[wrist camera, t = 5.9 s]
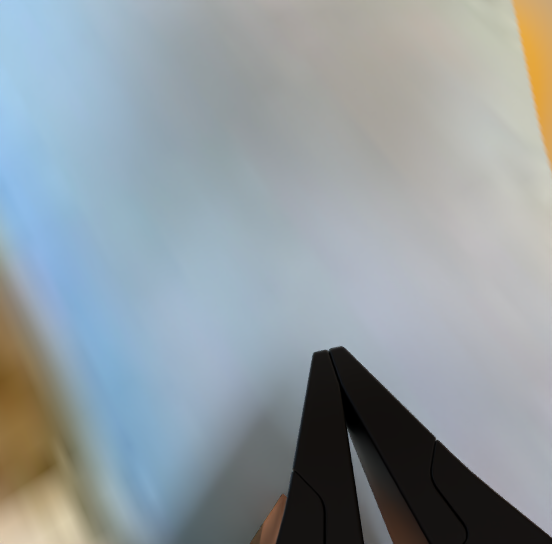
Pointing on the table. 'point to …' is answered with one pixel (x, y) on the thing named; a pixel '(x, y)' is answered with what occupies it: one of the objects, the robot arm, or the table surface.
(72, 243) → the table surface
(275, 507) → the walnut pillar
